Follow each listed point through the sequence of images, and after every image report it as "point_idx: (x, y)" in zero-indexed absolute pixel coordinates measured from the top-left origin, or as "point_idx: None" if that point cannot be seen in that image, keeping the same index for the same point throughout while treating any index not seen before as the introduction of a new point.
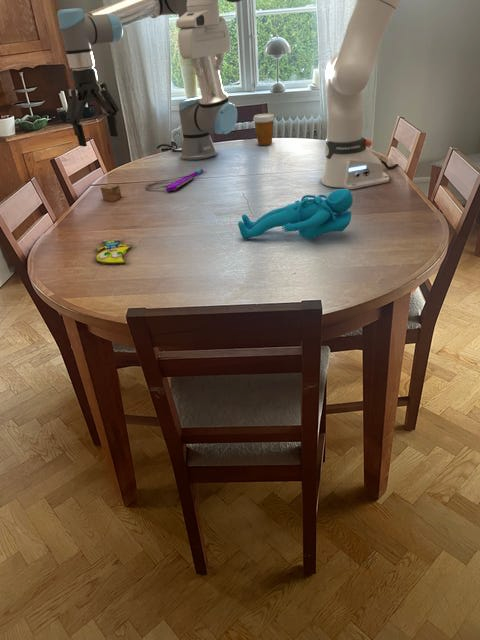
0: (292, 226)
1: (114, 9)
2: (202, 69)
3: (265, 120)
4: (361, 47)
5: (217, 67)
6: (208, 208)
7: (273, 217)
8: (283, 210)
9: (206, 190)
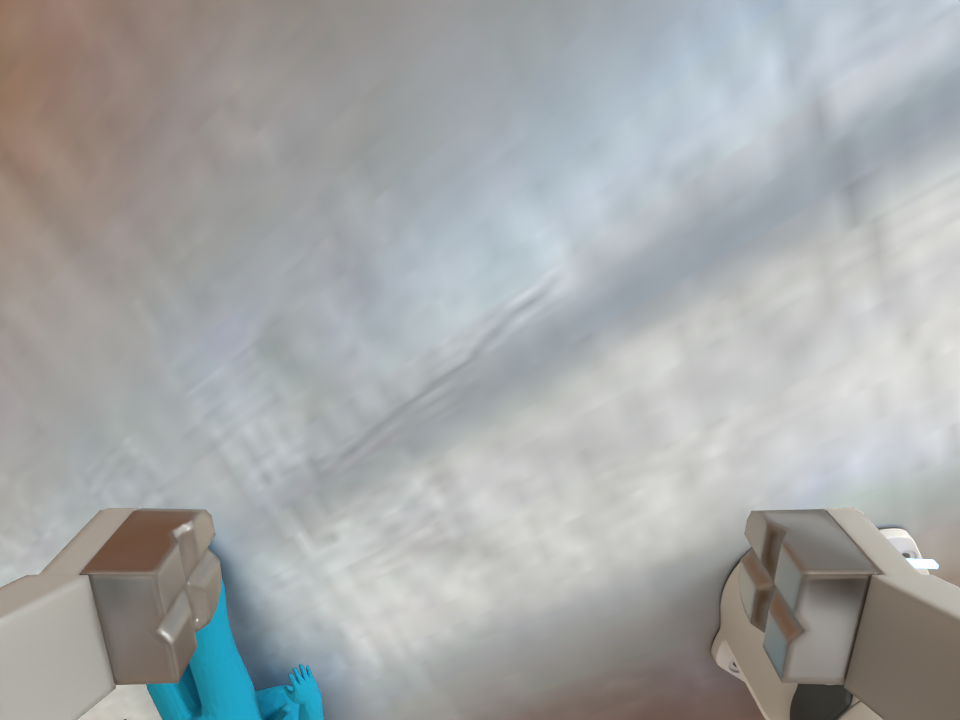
0: None
1: None
2: (174, 665)
3: None
4: None
5: (773, 600)
6: (307, 256)
7: (149, 691)
8: (201, 704)
9: (522, 70)
